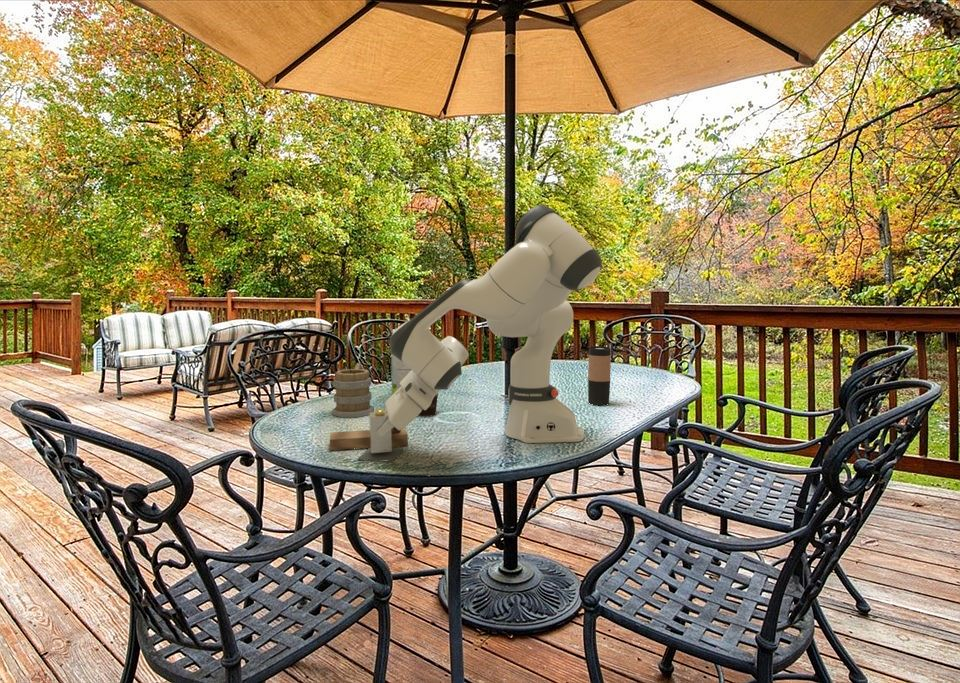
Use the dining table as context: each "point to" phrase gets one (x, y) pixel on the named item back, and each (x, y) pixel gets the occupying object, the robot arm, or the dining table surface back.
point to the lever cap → (376, 440)
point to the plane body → (363, 439)
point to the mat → (381, 455)
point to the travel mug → (599, 375)
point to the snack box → (398, 372)
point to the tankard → (352, 393)
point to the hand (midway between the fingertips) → (378, 430)
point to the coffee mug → (430, 408)
